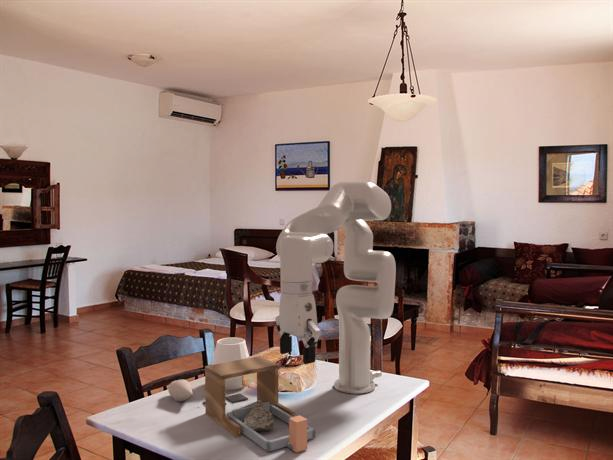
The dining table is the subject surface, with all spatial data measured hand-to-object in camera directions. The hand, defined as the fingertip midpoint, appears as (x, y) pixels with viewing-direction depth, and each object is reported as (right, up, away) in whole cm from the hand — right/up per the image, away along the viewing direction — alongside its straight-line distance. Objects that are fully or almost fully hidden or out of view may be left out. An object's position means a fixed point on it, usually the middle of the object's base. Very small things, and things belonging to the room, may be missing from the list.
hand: (297, 357), depth 132 cm
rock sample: (-10, -20, +7) cm, 23 cm away
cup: (-21, -18, +40) cm, 49 cm away
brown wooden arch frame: (-15, -19, +17) cm, 30 cm away
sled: (-6, -19, +4) cm, 20 cm away
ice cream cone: (-33, -19, +26) cm, 46 cm away
